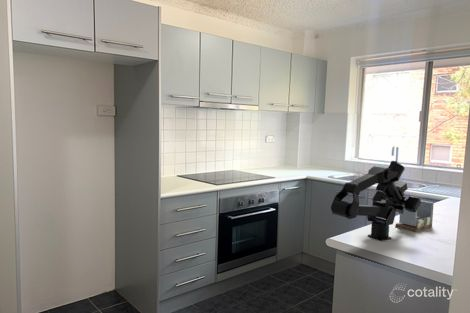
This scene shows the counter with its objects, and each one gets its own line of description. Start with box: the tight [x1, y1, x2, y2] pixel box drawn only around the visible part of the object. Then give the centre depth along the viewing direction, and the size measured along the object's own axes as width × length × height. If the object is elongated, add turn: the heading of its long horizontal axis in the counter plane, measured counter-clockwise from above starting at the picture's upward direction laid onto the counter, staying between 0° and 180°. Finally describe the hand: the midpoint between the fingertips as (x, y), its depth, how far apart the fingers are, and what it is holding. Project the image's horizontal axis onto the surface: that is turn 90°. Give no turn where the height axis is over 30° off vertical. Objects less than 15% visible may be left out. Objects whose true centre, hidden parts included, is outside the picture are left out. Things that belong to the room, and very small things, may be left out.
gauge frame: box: [395, 217, 433, 233], centre depth 159 cm, size 14×9×5 cm, turn 126°
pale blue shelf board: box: [398, 208, 424, 226], centre depth 155 cm, size 4×9×9 cm, turn 36°
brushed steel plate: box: [417, 199, 434, 225], centre depth 162 cm, size 2×9×10 cm, turn 36°
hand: (402, 212), depth 152 cm, fingers closed
